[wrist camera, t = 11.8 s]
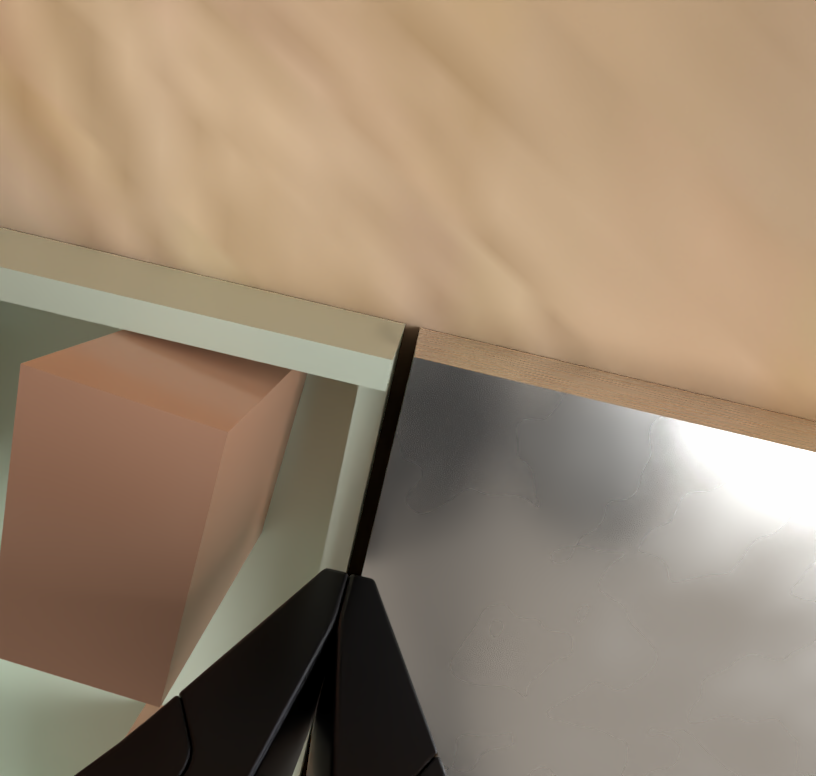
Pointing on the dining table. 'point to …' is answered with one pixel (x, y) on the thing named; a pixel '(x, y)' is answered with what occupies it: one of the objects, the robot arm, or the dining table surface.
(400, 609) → the plate
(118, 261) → the tray
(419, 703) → the robot arm
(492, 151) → the dining table surface
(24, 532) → the tile
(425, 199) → the dining table surface
